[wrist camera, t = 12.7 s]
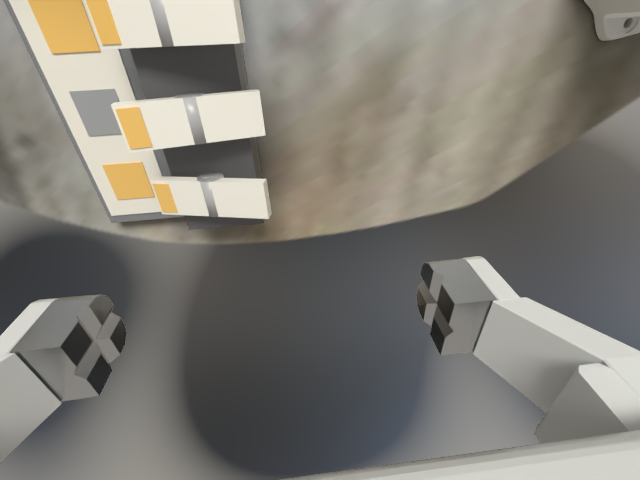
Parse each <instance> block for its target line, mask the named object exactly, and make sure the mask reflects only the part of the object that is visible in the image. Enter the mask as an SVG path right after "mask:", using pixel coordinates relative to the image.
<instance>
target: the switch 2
mask: <svg viewBox="0 0 640 480" xmlns="http://www.w3.org/2000/svg"><path fill="white" fill-rule="evenodd" d="M111 107H112V109H113V112H114V115H115V117H116V120H117V122H118V125H119V127H120V130H121V133H122V135H123V138H124V140H125V143H126V145H127V148H128V150H129V153H133V152H141V151H149V150H157V149H164V148H172V147H180V146H188V145H197V144H205V143H211V142H219V141H227V140H235V139H242V138H250V137H258V136H266V135H265V128H264V121H263V113H262V106H261V99H260V91H259V90H258V89H254V90H244V91H233V92H222V93H211V94H204V93H186V94H180V95H176V96H174V97H168V98H158V99H147V100H136V101H125V102H114V103H113V104H111Z"/></svg>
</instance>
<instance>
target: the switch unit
mask: <svg viewBox="0 0 640 480" xmlns="http://www.w3.org/2000/svg"><path fill="white" fill-rule="evenodd" d="M4 2H5V4H6V6H7V8H8V10H9V12H10V14H11V16H12V19H13V21H14V23H15V25H16V27H17V29H18V31H19V33H20V35H21V37H22V39H23V41H24V43H25V45H26V47H27V50H28V52H29V54H30V56H31V58H32V60H33V62H34V64H35V66H36V68H37V70H38V72H39V74H40V76H41V78H42V80H43V83H44V85H45V87H46V89H47V91H48V93H49V95H50V97H51V99H52V101H53V103H54V105H55V107H56V109H57V111H58V114H59V116H60V118H61V120H62V122H63V124H64V126H65V128H66V130H67V132H68V134H69V136H70V138H71V140H72V142H73V144H74V147H75V149H76V151H77V153H78V155H79V157H80V159H81V161H82V163H83V165H84V167H85V169H86V171H87V173H88V175H89V177H90V180H91V182H92V184H93V186H94V188H95V190H96V192H97V194H98V196H99V198H100V200H101V202H102V204H103V206H104V208H105V211H106V213H107V215H108V217H109V219H110V221H111V223H116V222H128V221H140V220H151V219H163V218H175V217H185V219H186V222H187V225H188V228H189V230H191V229H202V228H213V227H225V226H236V225H248V224H259V223H264V219H257V218H235V217H210V216H191V215H169V214H162V212H161V210H160V207H159V204H158V201H157V199H156V196H155V193H154V191H153V188H152V185H151V183H150V180H151V179H152V178H154V177H155V176H170V177H199V176H200V175H202V174H205V173H210V172H219V173H222V174H223V176H224V178H250V179H262V173H261V166H260V160H259V153H258V147H257V140H256V137H250V138H242V139H235V140H227V141H219V142H211V143H205V144H197V145H188V146H180V147H172V148H164V149H157V150H149V151H141V152H133V153H129V150H128V148H127V145H126V143H125V140H124V138H123V135H122V133H121V130H120V127H119V125H118V122H117V120H116V117H115V115H114V112H113V109H112V107H111V104H113V103H114V102H125V101H136V100H147V99H158V98H168V97H174V96H176V95H180V94H186V93H204V94H211V93H222V92H233V91H244V90H249V89H248V82H247V76H246V69H245V63H244V56H243V50H242V43H238V44H215V45H192V46H170V47H146V48H123V49H102V47H101V44H100V42H99V39H98V36H97V33H96V31H95V28H94V25H93V23H92V20H91V17H90V14H89V12H88V9H87V6H86V4H85V1H84V0H4Z"/></svg>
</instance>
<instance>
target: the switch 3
mask: <svg viewBox="0 0 640 480" xmlns="http://www.w3.org/2000/svg"><path fill="white" fill-rule="evenodd" d="M150 183H151V185H152V188H153V191H154V193H155V196H156V199H157V201H158V204H159V207H160V210H161V212H162V214H169V215H191V216H210V217H235V218H257V219H269V218H270V216H271V214H272V213H271V206H270V199H269V192H268V186H267V179H250V178H224V176H223V174H222V173H219V172H210V173H205V174H202V175H200V176H199V177H170V176H155V177H154V178H152V179H151V180H150Z"/></svg>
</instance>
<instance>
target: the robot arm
mask: <svg viewBox="0 0 640 480" xmlns="http://www.w3.org/2000/svg"><path fill="white" fill-rule="evenodd" d="M584 1H585V3H586V4H587V5H588V6H589V7H590V9H591V10H592V12H593V14H594V21H595V28H596V33H597V36H598V38H599V39H600V40H602V41H608V40H615V39H619V38H623V37H626V36H630V35H633V34H637V33H640V0H584ZM625 21H626V24H625V25H624V23H625ZM420 275H421V277H422V279H423V282H422V283H421V284H420V285H419V286H418V289H417V306H418V309H419V312H420V315H421V317H422V319H423V321H424V322H426V323H428V324H429V325H430V326H432V327H431V331H430V335H431V337H432V339H433V341H434V343H435V345H436V347H437V349H438V351H439V353H440V355H451V354H462V353H473V352H474V353H473V354H474V355H475V356H476V357H477V358H478V359H480V360H481V361H482V362H483V363H485V364H486V365H487V366H488V367H490V368H491V369H492V370H493V371H495V372H496V373H497V374H498V375H500V376H501V377H502V378H504V379H505V380H506V381H507V382H509V383H510V384H511V385H512V386H513V387H515V388H516V389H517V390H518V391H520V392H521V393H522V394H523V395H525V396H526V397H527V398H528V399H530V400H531V401H532V402H533V403H534V404H536V405H537V406H538V407H539V408H541V409H542V410H543V411H545V412H546V414H545V415H544V417H543V418H542V420H541V421H540V423H539V424H538V426H537V427H536V430H535V433H534V434H535V435H536V437H537V438H538V440H539V442H540V443H541V444H534V445H527V446H520V447H512V448H506V449H498V450H491V451H485V452H477V453H469V454H462V455H455V456H448V457H441V458H434V459H426V460H419V461H411V462H404V463H397V464H390V465H383V466H375V467H368V468H361V469H354V470H346V471H339V472H332V473H325V474H318V475H310V476H303V477H296V478H289V479H282V480H640V351H638V350H636V349H634V348H632V347H630V346H628V345H626V344H624V343H622V342H619V341H617V340H615V339H613V338H611V337H609V336H607V335H605V334H602V333H600V332H598V331H596V330H594V329H592V328H590V327H588V326H586V325H584V324H581V323H579V322H577V321H575V320H573V319H571V318H569V317H567V316H565V315H562V314H560V313H558V312H556V311H554V310H552V309H550V308H547V307H545V306H543V305H541V304H539V303H537V302H535V301H533V300H531V299H529V298H527V297H525V298H520V297H519V296H518V295H517V294H516V293H515V292H514V290H513V289H512V288H511V287H510V286H509V285H508V284H507V283H506V282H505V280H504V279H503V278H502V277H501V276H500V275H499V274H498V273H497V272H496V271H495V269H494V268H493V267H492V266H491V265H490V264H489V263H488V262H487V261H486V259H484V258H483V257H480V256H476V257H468V258H461V259H454V260H446V261H435V262H426V263H424V264H423V265H422V267H421V272H420ZM112 308H113V304H112V302H111V301H110V299H109V298H108V296H104V295H90V296H77V297H64V298H56V299H43V300H38V301H35V302H33V303H31V304H30V305H29V306H28V307H27V308H26V309H25V310H24V311H23V312H22V313H21V314H20V315H19V316H18V317H17V319H16V320H15V321H14V322H13V323H12V324H11V325H10V326H9V327H8V328H7V329H6V330H5V331H4V333H3V334H2V335H1V336H0V462H1V461H2V460H3V459H4V458H5V457H6V456H7V455H8V454H9V453H10V452H11V451H13V449H14V448H16V447H17V446H18V445H19V444H20V443H21V442H22V441H23V440H24V439H25V438H26V437H27V436H28V435H29V434H30V433H31V432H32V431H33V430H34V429H35V428H37V427H38V426H39V425H40V424H41V423H42V422H43V421H44V420H45V419H46V418H47V417H48V416H49V415H50V414H51V413H52V412H53V411H54V410H55V409H56V408H57V407H58V406H59V405H60V404H61V401H66V400H74V399H80V398H87V397H95V396H99V395H100V394H101V392H102V390H103V388H104V386H105V384H106V382H107V380H108V378H109V376H110V374H111V372H112V368H111V365H110V363H111V362H112V361H113V360H114V359H115V358H116V357H118V356H119V355H120V353H121V352H122V349H123V347H124V345H125V340H126V329H125V324H124V323H123V321H122V319H121V318H120V317H118V316H117V315H115V314H113V313H111V311H112Z"/></svg>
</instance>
